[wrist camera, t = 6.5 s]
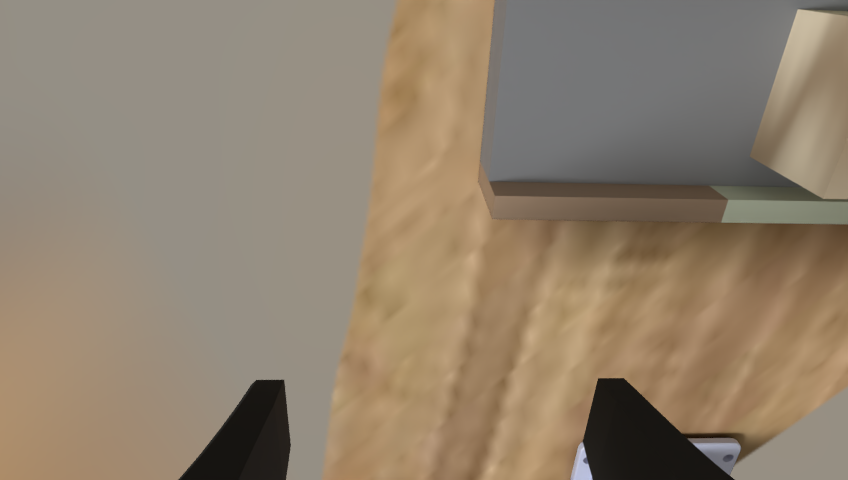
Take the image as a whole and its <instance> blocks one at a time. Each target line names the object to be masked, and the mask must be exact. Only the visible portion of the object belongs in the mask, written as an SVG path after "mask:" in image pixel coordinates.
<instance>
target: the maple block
mask: <svg viewBox="0 0 848 480" xmlns="http://www.w3.org/2000/svg"><path fill="white" fill-rule="evenodd" d="M750 157H751V158H753V159H755V160H756V161H758V162H760V163H762V164H763V165H765V166H767V167H769V168H770V169H772V170H774V171H776V172H777V173H779V174H781V175H783V176H784V177H786V178H788V179H790V180H791V181H793V182H795V183H796V184H798V185H800V186H802V187H803V188H805V189H807V190H809V191H810V192H812V193H814V194H816V195H817V196H819V197H821V198H823V199H848V11H830V10H806V9H798V10H797V13H796V16H795V19H794V22H793V25H792V29H791V32H790V35H789V38H788V41H787V44H786V47H785V50H784V53H783V56H782V59H781V62H780V65H779V68H778V71H777V74H776V77H775V80H774V84H773V87H772V90H771V93H770V96H769V99H768V102H767V105H766V108H765V111H764V114H763V117H762V120H761V123H760V126H759V129H758V132H757V135H756V138H755V142H754V145H753V148H752V151H751V154H750Z"/></svg>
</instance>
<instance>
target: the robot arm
mask: <svg viewBox="0 0 848 480" xmlns="http://www.w3.org/2000/svg"><path fill="white" fill-rule="evenodd" d="M290 446H291V444H290V434H289V424H288V414H287V404H286V395H285V384H284V380H256V381H255V382H254V383H253V384H252V385H251V386H250V388H249V389H248V391H247V392H246V394H245V395H244V397H243V398H242V400H241V401H240V402H239V404H238V405H237V407H236V408H235V410H234V411H233V412H232V414H231V415H230V416H229V418H228V419H227V421H226V422H225V423H224V425H223V426H222V427H221V429H220V430H219V431H218V432H217V434H216V435H215V436H214V438H213V439H212V440H211V441H210V443H209V444H208V445H207V447H206V448H205V449H204V450H203V452H202V453H201V454H200V455H199V457H198V458H197V459H196V460H195V461H194V462H193V464H192V465H191V466H190V467H189V468H188V469H187V471H186V472H185V473H184V474H183V475H182V476H181V477H180V479H179V480H286V475H287V468H288V461H289V453H290ZM740 450H741V446H740V444H739V443H738V441H737V440H736V439H734V438H686V437H685V436H684V435H683V434H682V433H681V432H680V431H678V430H677V429H676V428H675V427H674V426H673V425H672V424H671V423H670V422H669V421H668V420H667V419H666V418H665V417H664V416H663V415H662V414H661V413H660V412H658V411H657V410H656V409H655V408H654V407H653V406H652V405H651V404H650V403H649V402H648V401H647V400H646V399H645V398H644V397H643V396H642V395H641V394H640V393H639V392H638V391H637V390H636V389H635V388H634V387H633V386H631V385H630V384H629V383H628V382H627V381H626V380H625V379H624V378H598V381H597V385H596V389H595V394H594V398H593V402H592V406H591V410H590V414H589V418H588V423H587V427H586V431H585V435H584V439H583V442H582V443H580V445H579V446H578V450H577V454H576V458H575V462H574V467H573V471H572V475H571V479H570V480H734V479H733V478H732V477H731V476H730V474H731V471H732V469H733V467H734V464H735V462H736V460H737V457H738V455H739V453H740Z"/></svg>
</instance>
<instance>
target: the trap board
mask: <svg viewBox="0 0 848 480" xmlns="http://www.w3.org/2000/svg"><path fill="white" fill-rule="evenodd" d="M798 9H806V10H830V11H848V0H495V5H494V16H493V27H492V38H491V49H490V60H489V71H488V82H487V92H486V103H485V114H484V125H483V136H482V147H481V158H480V169H479V179H478V182H479V185H480V188H481V190H482V193H483V196H484V198H485V201H486V204H487V206H488V209H489V212H490V214H491V217H492V219H510V220H579V221H649V222H718V223H787V224H848V199H823V198H821V197H819V196H817V195H816V194H814V193H812V192H810V191H809V190H807V189H805V188H803V187H802V186H800V185H798V184H796V183H795V182H793V181H791V180H790V179H788V178H786V177H784V176H783V175H781V174H779V173H777V172H776V171H774V170H772V169H770V168H769V167H767V166H765V165H763V164H762V163H760V162H758V161H756V160H755V159H753V158H751V157H750V154H751V151H752V148H753V145H754V142H755V138H756V135H757V132H758V129H759V126H760V123H761V120H762V117H763V114H764V111H765V108H766V105H767V102H768V99H769V96H770V93H771V90H772V87H773V84H774V80H775V77H776V74H777V71H778V68H779V65H780V62H781V59H782V56H783V53H784V50H785V47H786V44H787V41H788V38H789V35H790V32H791V29H792V25H793V22H794V19H795V16H796V13H797V10H798Z"/></svg>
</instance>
